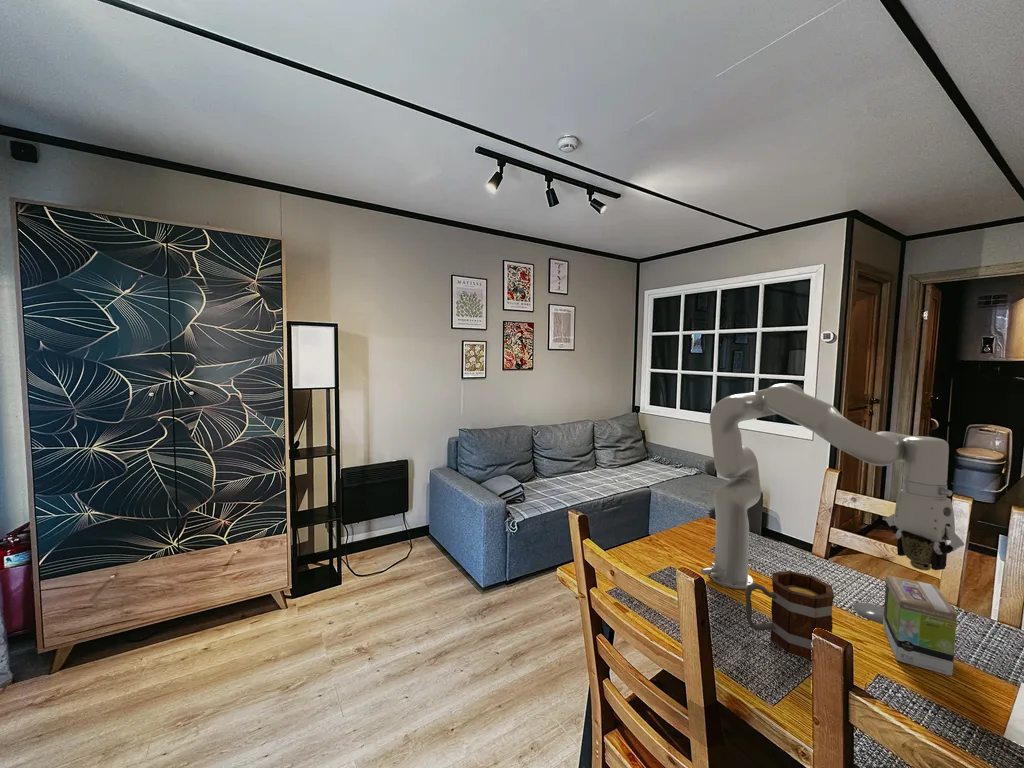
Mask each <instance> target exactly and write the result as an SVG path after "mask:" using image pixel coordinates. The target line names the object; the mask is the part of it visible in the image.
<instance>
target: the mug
mask: <svg viewBox="0 0 1024 768" xmlns="http://www.w3.org/2000/svg"><path fill="white" fill-rule="evenodd" d="M771 577H772V578H771V579H772V580H771V582H772V591H768V589H766V587H764V585H762V584H759V583H757V582H755V583H754V582H753V584H751V585H748V587H747V589H745V592H744V593H745V594H744V595H745V614H746V617H745V618H746V621H747V623H748V625H749V626H750V627H749V628H751V629H753V630H756V631H757V632H760V631H770V634H769V635H770V640H771V641H772V642H774V643H775V644H776V645H777V646H778V647H780V648H781V649H782V650H783V651H784V652H786V653H787V654H790V655H793V656H796V657H800V658H803V659H806V660H810V661H812V660H811V642H812V633H813V630H814V629H815V628H821V629H824V630H827V631H829V632H831V633H832V632H833V605H834V599H835V594H834V590H833V586H832V585H829V583H826V582H825V581H823V580H820V579H819V578H817V577H815V576H813V575H811V574H804V573H801V572H796V571H791V570H785V571H778V572H777V571H776V572H772V576H771ZM755 590H760V591H761V592H762V593H763V594H764V595H765V596H767V597H768V598H770V599H771V608H770V611H771V622H765V623H763V622H762V623H758V624H756V623H754V622H753V619H752V618H753V616H752V615H753V613H752V612H753V611H752V610H753V604H752V600H751V597H752V593H753V591H755Z"/></svg>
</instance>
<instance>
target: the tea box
mask: <svg viewBox="0 0 1024 768" xmlns="http://www.w3.org/2000/svg"><path fill="white" fill-rule="evenodd" d="M885 579H886V580H885V591H884V603H883V604H884V606H883V607H884V618H883V625H882V627H883V630H884V633H885V635H886V637H887V639H888V640H887V641H888V643H889V646H890V648H891V650H892V653H893V656H894V658H895V660H896V661H898V662H902V663H904V664H908V665H912V666H915V667H918V668H921V669H925V670H929V671H931V672H932V671H933V672H936V673H939V674H943V675H947V676H951V677H952V676H953V673H954V672H953V671H954V660H955V659H954V658H955V649H956V648H955V645H956V644H955V643H956V634H957V625H958V624H957V622H958V613H957V612H956V611H955V608H953V606H952V605H951V604H950V602H949V601H948V600H947V598H946V597H945V595H944V594H943V593H942V591H941V590H940V589H939V588H938V586H937V585H936V584H931V583H926V582H923V581H917V580H911V579H908V578H903V577H900V576H899V577H897V576H893V575H889V574H887V575H886V578H885Z"/></svg>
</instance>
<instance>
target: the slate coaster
mask: <svg viewBox="0 0 1024 768" xmlns="http://www.w3.org/2000/svg"><path fill="white" fill-rule="evenodd" d="M852 609H853V610H854V612H856V613H857V614H858V615H860V616H861V617H862V618H865V619H867V620H869V621H872V622H874V621H875V623H878V624H883V618H884V606H880V605H877V604H875V603H869V602H856V603H853V605H852Z"/></svg>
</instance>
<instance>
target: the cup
mask: <svg viewBox="0 0 1024 768" xmlns="http://www.w3.org/2000/svg"><path fill="white" fill-rule="evenodd" d="M901 537H902V546H903V551H904V554H905V557H906V558H908V559H909V560H910V561H909V564H910V566H912V568H914V569H917V570H920V571H925V572H927V571H930V570H931V569H932V568H931V561H932V553H934V552H935V550H934V548H933V546H934V543H931V540H929V539H926V538H923V537H920V536H917V535H914V534H912V533H911V534H909V532H907V533H906V532H905V534H904V535H903V532H902V531H901ZM939 544H940V543H939ZM940 546H941V547H942V543H941V544H940Z"/></svg>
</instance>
